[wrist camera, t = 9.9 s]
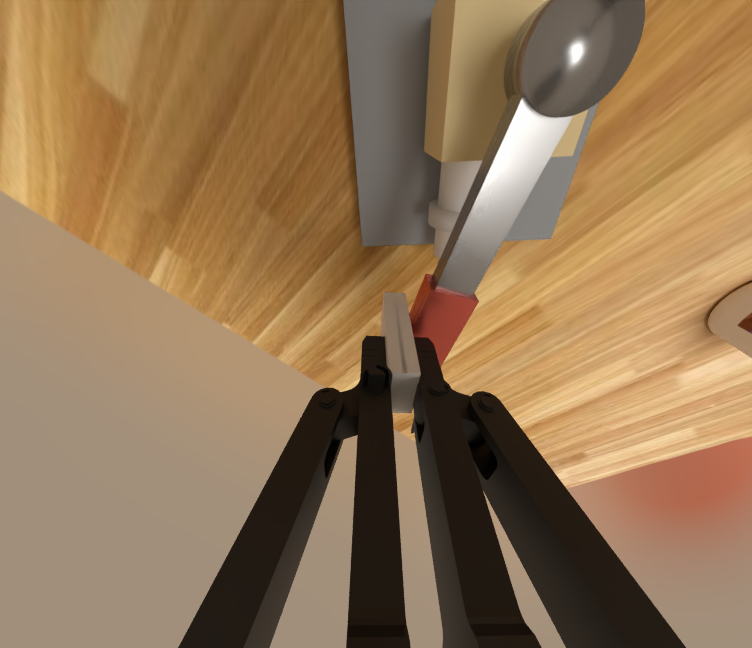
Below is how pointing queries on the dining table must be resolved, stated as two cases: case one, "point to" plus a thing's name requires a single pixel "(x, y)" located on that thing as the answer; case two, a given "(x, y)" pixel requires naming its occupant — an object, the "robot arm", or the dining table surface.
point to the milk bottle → (734, 319)
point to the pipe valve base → (438, 116)
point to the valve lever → (526, 142)
